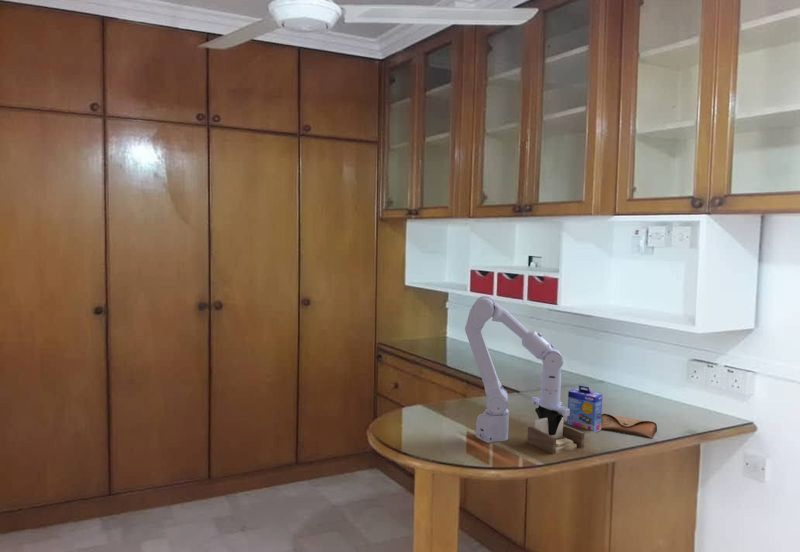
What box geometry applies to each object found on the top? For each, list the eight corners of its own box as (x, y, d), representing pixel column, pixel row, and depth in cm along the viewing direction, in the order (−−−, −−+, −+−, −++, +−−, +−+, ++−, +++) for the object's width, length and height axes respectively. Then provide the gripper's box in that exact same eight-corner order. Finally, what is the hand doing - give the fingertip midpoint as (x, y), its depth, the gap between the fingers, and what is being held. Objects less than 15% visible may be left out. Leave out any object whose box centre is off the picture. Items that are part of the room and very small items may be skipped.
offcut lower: (555, 451, 183) (556, 448, 183) (547, 447, 186) (547, 444, 186) (576, 447, 187) (576, 444, 187) (567, 443, 190) (567, 440, 190)
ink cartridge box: (565, 426, 210) (567, 383, 208) (573, 423, 214) (575, 381, 213) (594, 434, 203) (596, 389, 202) (601, 430, 207) (603, 386, 206)
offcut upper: (557, 447, 184) (557, 444, 184) (550, 444, 187) (550, 440, 186) (573, 444, 187) (573, 441, 187) (565, 441, 190) (566, 437, 189)
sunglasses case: (595, 429, 208) (598, 409, 210) (598, 434, 213) (601, 415, 216) (654, 439, 200) (656, 418, 202) (655, 444, 205) (657, 424, 208)
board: (539, 445, 188) (540, 422, 188) (534, 442, 191) (535, 419, 190) (562, 440, 193) (563, 418, 192) (556, 438, 195) (557, 415, 194)
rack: (552, 457, 182) (553, 438, 181) (527, 445, 191) (528, 427, 191) (583, 450, 187) (584, 432, 187) (557, 439, 197) (558, 422, 196)
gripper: (578, 393, 186) (576, 438, 187) (544, 381, 199) (542, 424, 200) (560, 396, 183) (558, 442, 184) (526, 384, 195) (525, 427, 196)
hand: (548, 433), depth 192 cm, fingers closed on board, 2 cm apart
